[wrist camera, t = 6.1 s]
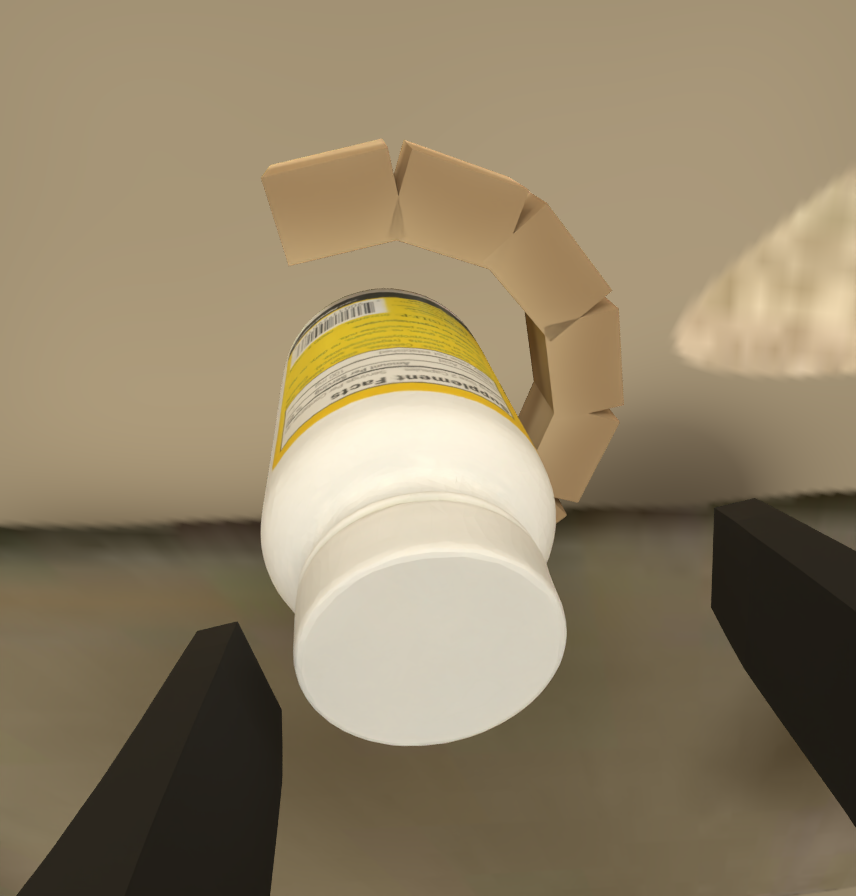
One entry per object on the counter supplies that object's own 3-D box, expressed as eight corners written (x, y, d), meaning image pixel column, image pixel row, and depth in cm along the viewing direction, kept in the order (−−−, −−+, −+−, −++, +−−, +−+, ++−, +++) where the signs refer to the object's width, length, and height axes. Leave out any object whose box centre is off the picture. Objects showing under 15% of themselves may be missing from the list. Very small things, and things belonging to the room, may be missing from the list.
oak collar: (388, 552, 21) (393, 596, 19) (270, 164, 15) (260, 177, 13) (606, 500, 21) (630, 539, 19) (576, 91, 15) (607, 95, 13)
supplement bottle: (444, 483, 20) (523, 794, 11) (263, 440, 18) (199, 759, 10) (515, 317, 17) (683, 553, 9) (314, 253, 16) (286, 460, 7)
